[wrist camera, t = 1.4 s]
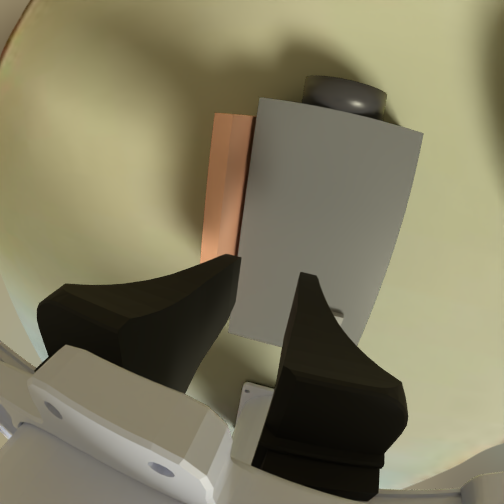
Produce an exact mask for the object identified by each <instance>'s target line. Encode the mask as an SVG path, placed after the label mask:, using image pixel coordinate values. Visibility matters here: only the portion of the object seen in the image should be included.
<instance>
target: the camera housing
mask: <svg viewBox="0 0 504 504" xmlns="http://www.w3.org/2000/svg"><path fill="white" fill-rule="evenodd" d="M386 98H387V94H386V93H385V92H383V91H382V90H379V89H377V88H375V87H372V86H369V85H366V84H363V83H359V82H355V81H351V80H347V79H342V78H336V77H329V76H307V77H306V79H305V86H304V92H303V99H302V103H296V102H290V101H284V100H277V99H270V98H262V97H260V98H259V105H258V112H257V118H256V125H255V132H254V139H253V146H252V154H251V161H250V168H249V175H248V182H247V190H246V197H245V205H244V212H243V219H242V227H241V235H240V242H239V250H238V257H242V259H241V267H240V274H239V281H238V289H237V296H236V303H235V305H234V307H233V309H232V312H231V314H230V321H229V329H228V333H231V334H234V335H238V336H241V337H245V338H249V339H252V340H256V341H260V342H263V343H267V344H271V345H275V346H279V347H282V345H283V339H284V334H285V331H286V327H287V323H288V319H289V315H290V311H291V307H292V303H293V299H294V295H295V291H296V287H297V282H298V278H299V275H300V272H304V273H308V274H312V275H317V277H318V279H319V283H320V286H321V289H322V291H323V294H324V296H325V299H326V301H327V303H328V305H329V307H330V309H331V311H332V313H333V315H334V317H335V318H336V320H337V322H338V323H339V325H340V326H341V328H342V329H343V330H344V332H345V333H346V334H347V336H348V337H349V338H350V339H351V340H352V341H353V342H354V343H355V345H356V346H357V345H358V343H359V340H360V338H361V336H362V333H363V331H364V329H365V326H366V324H367V321H368V319H369V316H370V314H371V311H372V309H373V306H374V304H375V301H376V298H377V296H378V293H379V290H380V288H381V285H382V282H383V279H384V277H385V274H386V271H387V268H388V265H389V262H390V259H391V256H392V253H393V250H394V247H395V244H396V241H397V237H398V234H399V231H400V228H401V224H402V221H403V217H404V214H405V210H406V207H407V203H408V199H409V195H410V192H411V188H412V184H413V180H414V175H415V171H416V167H417V162H418V158H419V153H420V148H421V144H422V139H423V133H421V132H418V131H414V130H411V129H408V128H405V127H401V126H398V125H394V124H391V123H387V122H384V121H383V116H384V110H385V104H386Z"/></svg>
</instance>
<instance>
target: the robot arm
mask: <svg viewBox="0 0 504 504" xmlns="http://www.w3.org/2000/svg"><path fill="white" fill-rule="evenodd" d="M241 259H242V257H238V256H234V255H230V254H224V255H221V256H218V257H216V258H213V259H211V260H209V261H206V262H204V263H201V264H199V265H196V266H194V267H191V268H188V269H185V270H183V271H180V272H177V273H174V274H171V275H167V276H164V277H160V278H155V279H151V280H146V281H139V282H133V283H126V284H114V285H79V284H64V285H63V286H61V287H60V288H59V289H57V290H56V291H55V292H53V293H52V294H51V295H49V296H48V297H47V298H45V299H44V300H43V301H41V302H40V303H39V305H38V308H37V322H38V326H39V329H40V333H41V336H42V339H43V342H44V344H45V347H46V350H47V353H48V356H49V357H48V358H47V359H46V360H45V361H44V362H42V364H40V365H39V366H38V367H37V368H36V367H34V366H33V365H31V364H30V363H28V362H27V361H26V360H25V359H23V358H22V357H21V356H19V355H18V354H17V353H15V352H14V351H13V350H11V349H10V348H9V347H8V346H6V345H5V344H4V343H2V342H1V341H0V432H1V433H3V435H4V436H5V437H6V438H7V439H8V441H7V442H6V443H5V444H4V446H3V447H2V448H1V449H0V504H504V471H503V472H496V473H488V474H482V475H478V476H476V477H474V478H472V479H471V480H469V481H468V482H467V483H465V484H464V485H463V486H462V487H461V488H453V489H435V490H391V489H379V470H380V469H381V468H382V467H383V466H384V453H385V452H386V451H387V450H388V449H389V448H390V446H391V445H392V444H393V443H394V442H395V441H396V440H397V438H398V437H399V436H400V435H401V434H402V432H403V431H404V429H405V427H406V426H407V421H408V411H407V403H406V397H405V393H404V390H403V386H402V382H401V381H399V380H398V379H396V378H395V377H394V376H392V375H391V374H389V373H388V372H386V371H385V370H383V369H382V368H381V367H379V366H378V365H377V364H376V363H374V362H373V361H372V360H371V359H370V358H369V357H367V356H366V355H365V354H364V353H363V352H362V351H361V350H360V349H359V348H358V347H357V346H356V345H355V343H354V342H353V341H352V340H351V339H350V338H349V337H348V336H347V334H346V333H345V332H344V330H343V329H342V328H341V326H340V325H339V323H338V322H337V320H336V318H335V317H334V315H333V313H332V311H331V309H330V307H329V305H328V303H327V301H326V299H325V296H324V294H323V291H322V289H321V286H320V283H319V279H318V277H317V275H312V274H308V273H304V272H300V275H299V278H298V282H297V287H296V291H295V295H294V299H293V303H292V307H291V311H290V315H289V319H288V323H287V327H286V331H285V334H284V339H283V345H282V351H281V357H280V363H279V369H278V375H277V380H276V385H275V389H273V388H269V387H265V386H261V385H258V384H254V383H250V382H245V383H244V385H243V388H242V394H241V399H240V404H239V409H238V414H237V420H236V425H235V429H234V432H233V434H232V437H231V434H230V431H229V427H228V425H227V424H226V422H225V421H224V420H223V419H221V418H220V417H219V416H218V415H217V414H216V413H215V412H214V411H213V410H212V409H211V408H210V407H209V406H207V405H205V404H203V403H201V402H199V401H197V400H195V399H194V398H192V397H190V396H188V395H186V394H185V393H186V391H187V388H188V386H189V384H190V382H191V380H192V378H193V376H194V374H195V372H196V370H197V368H198V366H199V365H200V363H201V361H202V360H203V358H204V357H205V355H206V353H207V352H208V350H209V349H210V347H211V346H212V344H213V343H214V341H215V340H216V338H217V337H218V335H219V333H220V332H221V330H222V329H223V327H224V326H225V324H226V322H227V320H228V318H229V316H230V314H231V312H232V309H233V307H234V305H235V303H236V296H237V289H238V281H239V274H240V267H241Z"/></svg>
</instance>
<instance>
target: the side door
mask: <svg viewBox="0 0 504 504" xmlns="http://www.w3.org/2000/svg"><path fill="white" fill-rule="evenodd" d="M256 118H257V116H250V115H240V114H227V113H215V116H214V124H213V132H212V140H211V149H210V158H209V168H208V177H207V187H206V198H205V209H204V221H203V233H202V246H201V260H200V264H201V263H204V262H206V261H209V260H211V259H213V258H216V257H218V256H221V255H224V254H230V255H234V256H238V250H239V242H240V235H241V227H242V219H243V212H244V205H245V197H246V190H247V182H248V175H249V168H250V161H251V154H252V146H253V139H254V132H255V125H256Z"/></svg>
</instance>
